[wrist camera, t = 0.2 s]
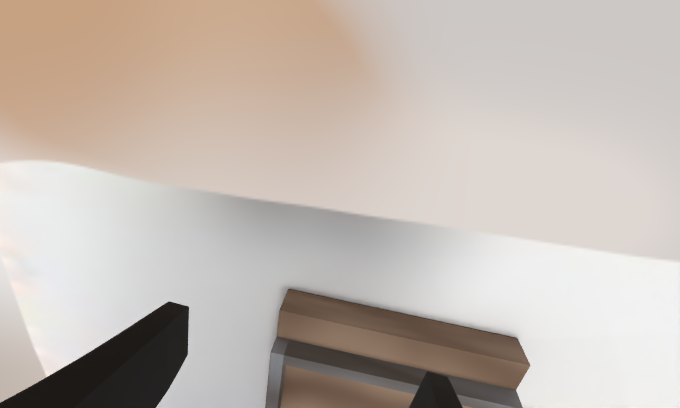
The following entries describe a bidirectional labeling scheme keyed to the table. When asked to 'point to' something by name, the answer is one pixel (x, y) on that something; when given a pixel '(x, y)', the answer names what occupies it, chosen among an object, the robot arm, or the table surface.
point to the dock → (383, 358)
